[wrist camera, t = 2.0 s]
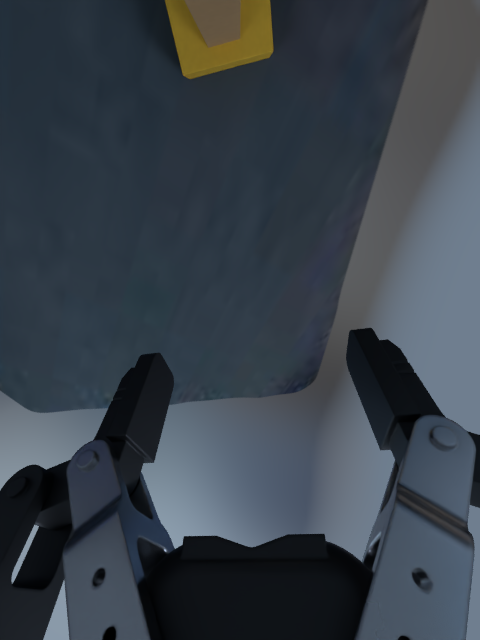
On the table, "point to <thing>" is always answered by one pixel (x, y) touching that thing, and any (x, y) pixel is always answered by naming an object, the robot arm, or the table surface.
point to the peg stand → (220, 33)
